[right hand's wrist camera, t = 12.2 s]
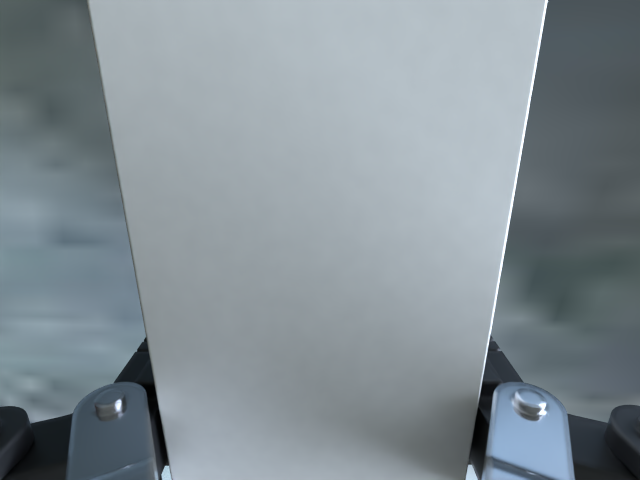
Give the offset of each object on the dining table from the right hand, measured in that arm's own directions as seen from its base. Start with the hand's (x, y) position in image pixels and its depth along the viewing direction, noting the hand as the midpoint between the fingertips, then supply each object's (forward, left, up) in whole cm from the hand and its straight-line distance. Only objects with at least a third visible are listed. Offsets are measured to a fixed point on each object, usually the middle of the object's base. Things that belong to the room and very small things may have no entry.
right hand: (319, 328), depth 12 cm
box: (+9, 0, -8) cm, 12 cm away
